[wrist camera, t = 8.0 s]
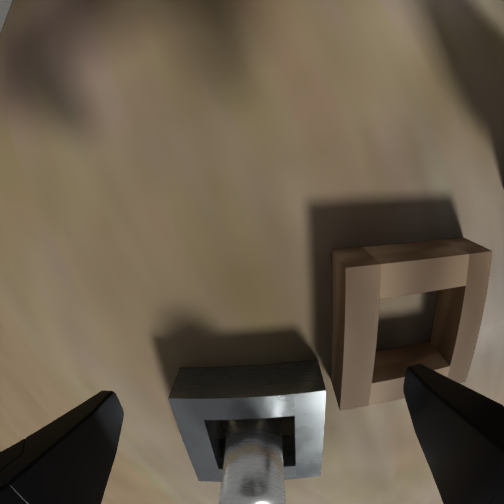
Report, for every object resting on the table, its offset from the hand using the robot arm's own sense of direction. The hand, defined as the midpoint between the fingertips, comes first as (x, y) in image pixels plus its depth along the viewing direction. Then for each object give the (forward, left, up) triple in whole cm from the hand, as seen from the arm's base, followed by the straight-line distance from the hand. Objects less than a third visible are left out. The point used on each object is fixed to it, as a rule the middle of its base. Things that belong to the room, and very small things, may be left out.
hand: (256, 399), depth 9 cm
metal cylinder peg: (+1, +12, -12) cm, 17 cm away
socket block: (-10, +4, -12) cm, 16 cm away
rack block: (+1, +12, -12) cm, 17 cm away
